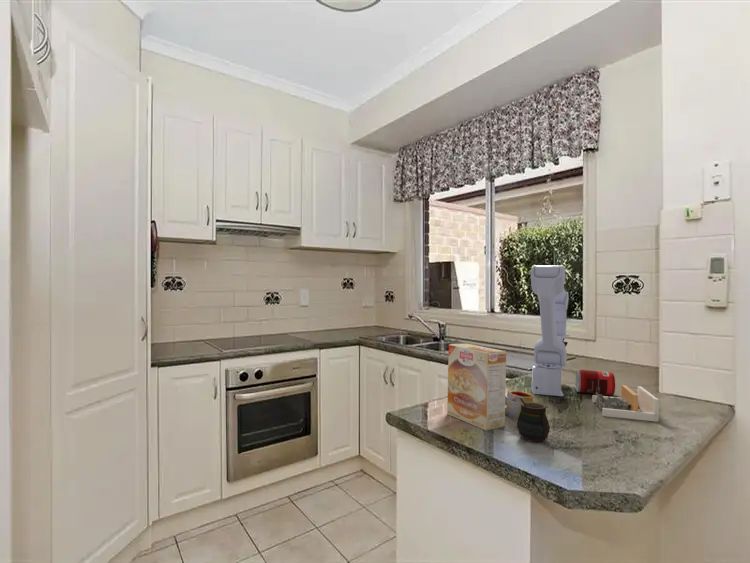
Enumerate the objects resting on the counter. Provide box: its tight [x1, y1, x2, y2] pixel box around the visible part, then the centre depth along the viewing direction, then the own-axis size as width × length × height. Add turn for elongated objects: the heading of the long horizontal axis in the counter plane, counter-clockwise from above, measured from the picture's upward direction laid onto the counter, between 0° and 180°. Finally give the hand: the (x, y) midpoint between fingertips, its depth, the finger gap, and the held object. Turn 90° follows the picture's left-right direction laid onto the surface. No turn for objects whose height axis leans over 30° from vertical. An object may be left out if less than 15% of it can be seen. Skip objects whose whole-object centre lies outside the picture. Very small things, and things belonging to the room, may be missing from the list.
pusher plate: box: [620, 384, 639, 411], centre depth 122 cm, size 1×13×6 cm, turn 163°
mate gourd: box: [516, 398, 551, 443], centre depth 99 cm, size 7×8×10 cm
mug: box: [505, 390, 534, 421], centre depth 116 cm, size 12×7×7 cm, turn 52°
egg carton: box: [594, 392, 630, 410], centre depth 124 cm, size 11×8×4 cm
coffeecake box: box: [446, 342, 507, 431], centre depth 111 cm, size 15×7×20 cm, turn 31°
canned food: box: [575, 369, 616, 396], centre depth 143 cm, size 8×8×11 cm
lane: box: [591, 385, 660, 423], centre depth 123 cm, size 14×16×6 cm
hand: (557, 358), depth 156 cm, fingers open, 7 cm apart
